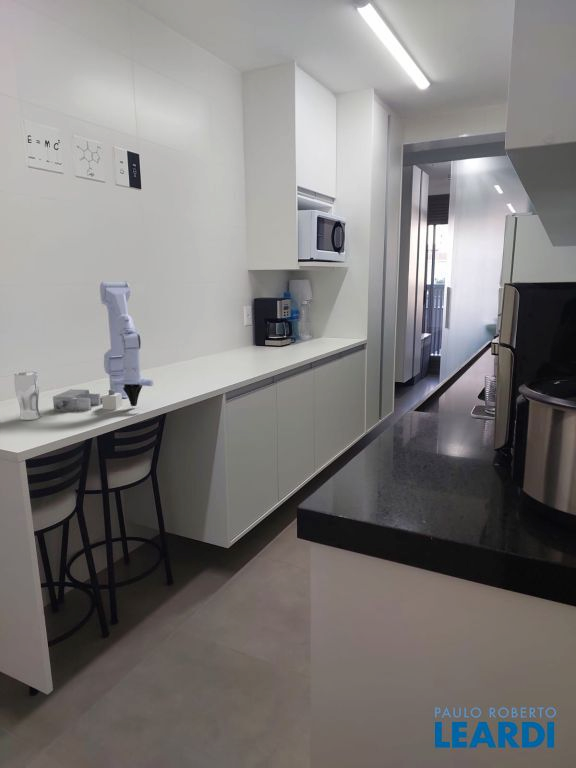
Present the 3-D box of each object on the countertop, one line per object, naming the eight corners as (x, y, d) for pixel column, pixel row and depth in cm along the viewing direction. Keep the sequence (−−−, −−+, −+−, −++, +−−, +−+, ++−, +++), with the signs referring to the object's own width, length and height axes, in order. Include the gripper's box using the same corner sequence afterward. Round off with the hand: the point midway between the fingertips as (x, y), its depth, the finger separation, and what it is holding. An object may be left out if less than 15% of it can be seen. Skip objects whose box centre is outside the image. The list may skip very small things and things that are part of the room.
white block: (109, 406, 183) (107, 388, 182) (122, 406, 182) (121, 388, 181) (102, 409, 178) (101, 391, 177) (116, 409, 177) (115, 391, 176)
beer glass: (28, 422, 162) (23, 376, 159) (13, 419, 165) (8, 374, 162) (46, 416, 168) (42, 372, 165) (32, 414, 171) (27, 371, 168)
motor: (71, 402, 188) (70, 389, 187) (102, 403, 187) (101, 390, 186) (49, 412, 173) (47, 398, 172) (82, 413, 172) (81, 399, 171)
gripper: (106, 369, 173) (109, 407, 176) (147, 370, 172) (149, 408, 175) (115, 365, 180) (117, 402, 183) (154, 366, 179) (156, 403, 181)
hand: (134, 405), depth 179 cm, fingers closed
